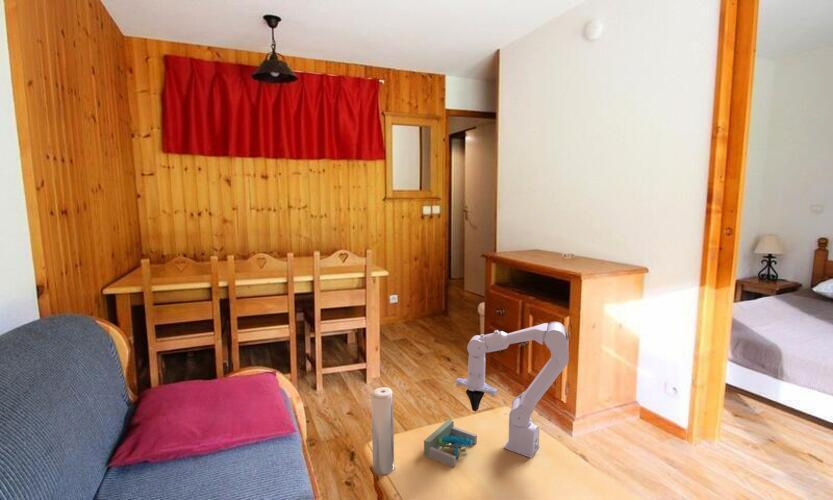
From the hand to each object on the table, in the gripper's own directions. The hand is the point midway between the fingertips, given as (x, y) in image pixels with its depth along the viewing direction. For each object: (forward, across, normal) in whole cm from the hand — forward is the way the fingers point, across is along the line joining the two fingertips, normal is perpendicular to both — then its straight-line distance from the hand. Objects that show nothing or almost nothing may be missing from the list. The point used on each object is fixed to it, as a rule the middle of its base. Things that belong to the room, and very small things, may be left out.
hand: (475, 409), depth 143 cm
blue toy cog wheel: (+11, -2, -10) cm, 15 cm away
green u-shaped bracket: (+10, -2, -10) cm, 15 cm away
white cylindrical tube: (+11, -16, -30) cm, 36 cm away
